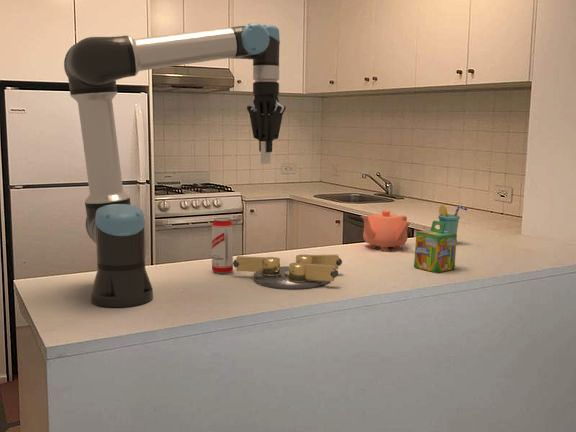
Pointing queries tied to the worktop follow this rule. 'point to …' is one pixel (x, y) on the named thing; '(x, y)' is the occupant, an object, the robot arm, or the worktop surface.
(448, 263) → the chalk box
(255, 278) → the levelling base
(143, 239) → the robot arm
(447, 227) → the cup
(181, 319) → the worktop surface
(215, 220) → the beer can
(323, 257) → the knob
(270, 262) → the knob
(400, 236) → the teapot
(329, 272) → the knob
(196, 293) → the worktop surface
